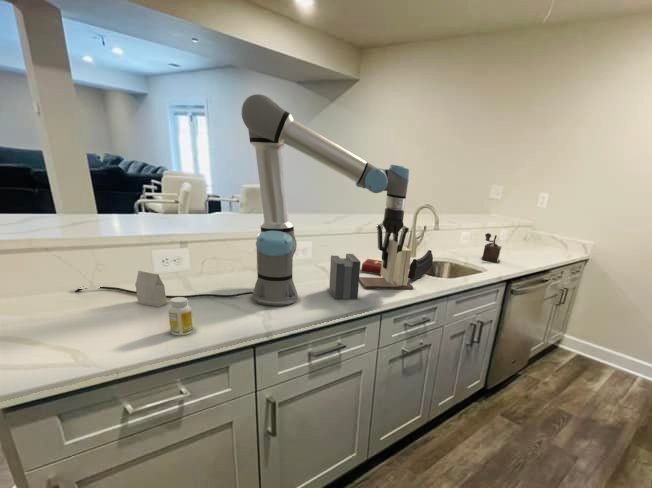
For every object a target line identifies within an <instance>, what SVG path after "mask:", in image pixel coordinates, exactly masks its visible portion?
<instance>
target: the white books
mask: <svg viewBox="0 0 652 488" xmlns="http://www.w3.org/2000/svg"><path fill="white" fill-rule="evenodd" d="M411 256H412V250H411V249H410V248H408V247H407V246H405V245H404V244H403V248H402V251H401V252H398V253H397V256H396V262H395V270H394V278H393V281H394V282H395V283H396V284H397V285H398V286H402V285H403V286H407V282H409V279H408V274H409V269H410V265H411Z"/></svg>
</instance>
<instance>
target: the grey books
mask: <svg viewBox="0 0 652 488" xmlns="http://www.w3.org/2000/svg"><path fill="white" fill-rule="evenodd" d="M329 268H330V269H329V288H328V289H329V291H330V293H331V294H332V296H333V298H334V300H358V299H359V298H358V297H359V285H360V281H359V277H360V272H361V261H360V259H359V258H358V257H356V255H355V254H354V253H346V254H345V258H343V257H341V258H340V256H339V255H330V267H329Z"/></svg>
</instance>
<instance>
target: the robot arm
mask: <svg viewBox="0 0 652 488" xmlns="http://www.w3.org/2000/svg"><path fill="white" fill-rule="evenodd" d="M240 111H241V113H240V115H241V119H242V122H243V124H244V125H245V127H246V128H247V129H248V130H247V131H248V138H249V144H250V145H251V146H252V147H253V148H254V150H255V156H256V157H255V158H256V164H257V165H256V166H257V172H258V181H259V188H260V196H261V206H262V214H263V222H262V223H261V224H260V225H259V226H260V232H259V233H258V235H257V236H256V241H255V246H256V267H257V268H256V269H257V270H256V272H257V277H256V278H257V279H256V282H255V284H254V288H253V291H246V292H241V293H235V294H234V293H233V294H216V293H215V294H214V293H200V294H190V295H189V294H188V295H187V294H186V295H166V299H172V298H175V297H184V298H187V299H190V298H200V297H201V298H202V297H215V298H216V297H217V298H234V297H235V298H236V297H239V296H248V295H252V300H253V302H254V303H256V304H259V305H261V306H268V307H284V306H291V305H293V304H296V302H297V301H298V297H299V296H298V295H299V294H298V291H297V289H296V285H295V282H294V279H293V261H294V259H293V258H294V255H295V253H296V251H297V240H296V237H295V225H294V224H293V223H292V222H291V221H290V217H289V210H288V209H289V207H288V199H287V198H288V196H287V187H286V176H285V166H284V154H283V149H284V148H285V147H286V146H289V147H290V148H292V149H294V150H296V151H298V152H299V153H301V154H303V155H305V156H306V157H308V158H311V159H313V160H314V161H316V162H318V163H320V164H321V165H323V166H325V167H327V168H329V169H330V170H332V171H334V172H336V173H338V174H340V175H341V176H343V177H345V178H347V179H349V180H350V181H352V182H354V183H355V186H356V187H357V188H361V189H367V190H368V191H369V192H371V193H373V194H379V193H382V192H386V195H385V196H386V198H385V203H384V206H385V208H384V212H383V220H382V222H381V223H379V224H375V227H376V230H377V249H378V250H379V251H381V261H382V260H383V268H385V269H386V268H387V260H388V252H387V248H388V243H389V238H391V235H392V239H393V240H394V241H396V242H397V243H398V247H397V253H398V252H401V251H402V248H403V245H404V244H405V239H406V238H407V237H406V236H407V233H409V230H410V229H409V227H407V226H405V224H404V218H405V217H404V216H405V208H406V201H407V193H408V186H409V181H410V180H409V179H410V178H409V177H410V169H409V168H408V167H407V166H404V165H398V164H390V165H389V168H388V169H386V168H385V169H384V168H379V167H376V166H374V165H373V164H371V163H369V162H367V161H366V160H364V159H363V158H361V157H359V156H357V155H356V154H354V153H352V152H351V151H349V150H347V149H346V148H344V147H342V146H340V145H339V144H337V143H335V142H334V141H332V140H330V139H328V138H326V137H325V136H323V135H321V134H319V133H318V132H316V131H315V130H312V129H311V128H309V127H308V126H306V125H305V124H302V123H300V122H299V121H297V120H295V119H294V118H293V115H292V113H290V112H289V111H287V110H285V109H284V108H283V107H281V106H280V105H278V103H277V102H275V101H274V100H273V99H272V98H270V97H268V96H266V95H264V94H260V93H259V94H258V93H257V94H252V95H250V96H248V97H247V98H246V99H245V100H244V101H243V103H242V105H241V110H240ZM383 229H384V230H385V232H384V238H383ZM400 231H401V232H400ZM399 232H400V237H399ZM396 256H397V255H396ZM86 289H87V288H85V289H79V288H77V289H75V291H74V293H79V292H81V291H82V290H86ZM99 289H100V290H112V291H113V290H114V291H120V292H124V293H129V294H135V295H137V292H136V290H130V289H125V288H121V287H114V286H103V287H100V288H99Z"/></svg>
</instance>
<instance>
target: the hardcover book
mask: <svg viewBox="0 0 652 488" xmlns="http://www.w3.org/2000/svg"><path fill="white" fill-rule="evenodd" d="M361 263H362V264H361V272H364V273H370V274H376V275H380V273H381V264H382V260H379V259H372V258H366V259H365V260H364V261H363V262H361Z"/></svg>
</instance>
